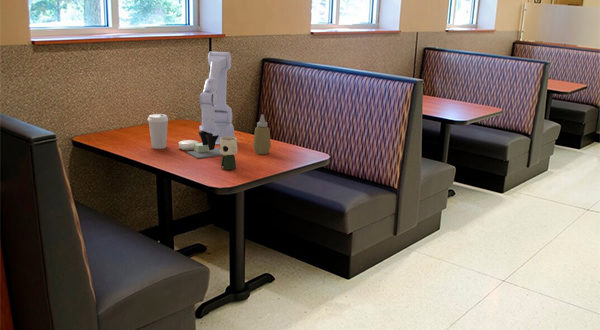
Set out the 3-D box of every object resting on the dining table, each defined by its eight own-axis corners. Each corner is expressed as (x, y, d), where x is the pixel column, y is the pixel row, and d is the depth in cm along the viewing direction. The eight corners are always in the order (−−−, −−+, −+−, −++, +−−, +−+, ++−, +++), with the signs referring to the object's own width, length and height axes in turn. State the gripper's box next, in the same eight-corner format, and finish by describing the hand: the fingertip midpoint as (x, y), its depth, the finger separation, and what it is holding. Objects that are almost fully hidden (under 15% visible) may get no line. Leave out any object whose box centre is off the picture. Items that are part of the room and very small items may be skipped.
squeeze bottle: (273, 152, 278) (274, 114, 273) (266, 156, 270) (267, 117, 265) (257, 150, 280) (257, 112, 275) (250, 154, 273) (250, 115, 268)
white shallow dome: (193, 145, 285) (193, 139, 284) (201, 149, 278) (201, 143, 277) (175, 147, 280) (175, 141, 280) (183, 151, 273) (183, 145, 272)
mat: (218, 149, 280) (218, 147, 280) (229, 154, 272) (229, 153, 271) (186, 153, 272) (186, 151, 271) (197, 158, 263) (197, 157, 263)
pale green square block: (204, 148, 277) (204, 142, 276) (208, 151, 273) (208, 145, 272) (193, 150, 275) (193, 143, 274) (198, 152, 271) (197, 146, 270)
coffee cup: (164, 150, 275) (163, 118, 271) (145, 148, 277) (143, 116, 273) (172, 145, 284) (171, 114, 280) (153, 143, 286) (152, 113, 282)
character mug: (213, 167, 251) (213, 137, 247) (227, 164, 256) (227, 134, 252) (229, 173, 244) (229, 142, 240) (243, 170, 248) (243, 139, 245)
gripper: (193, 116, 271) (193, 146, 274) (207, 122, 259) (207, 152, 263) (207, 115, 274) (207, 144, 278) (221, 121, 263) (221, 151, 266)
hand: (208, 148), depth 271 cm, fingers open, 5 cm apart
